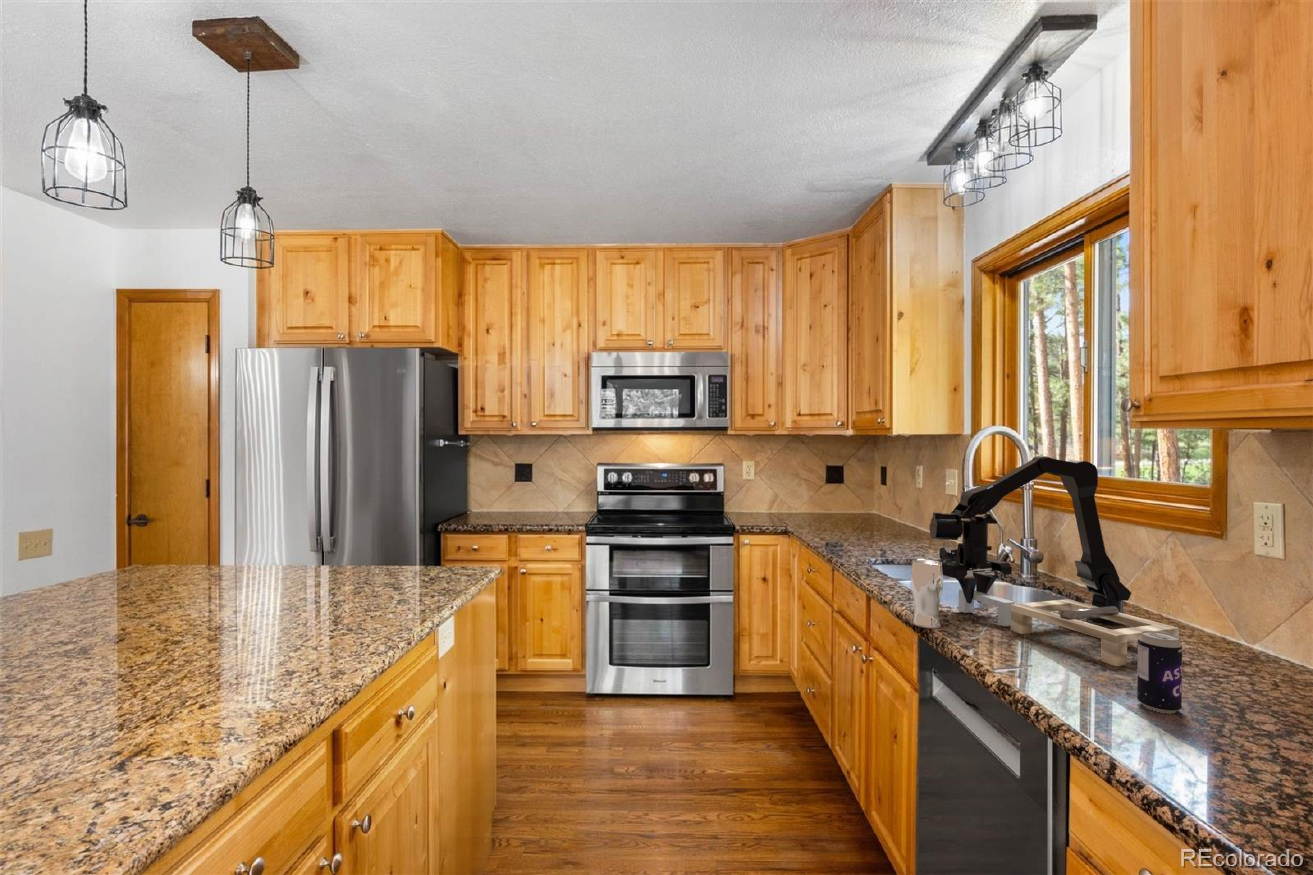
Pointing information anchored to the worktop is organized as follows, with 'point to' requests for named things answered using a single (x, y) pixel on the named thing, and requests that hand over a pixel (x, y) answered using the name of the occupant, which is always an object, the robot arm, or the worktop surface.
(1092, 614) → the rod
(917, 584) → the beer glass
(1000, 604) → the long white beam
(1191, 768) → the worktop surface
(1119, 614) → the shelf
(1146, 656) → the beverage can
